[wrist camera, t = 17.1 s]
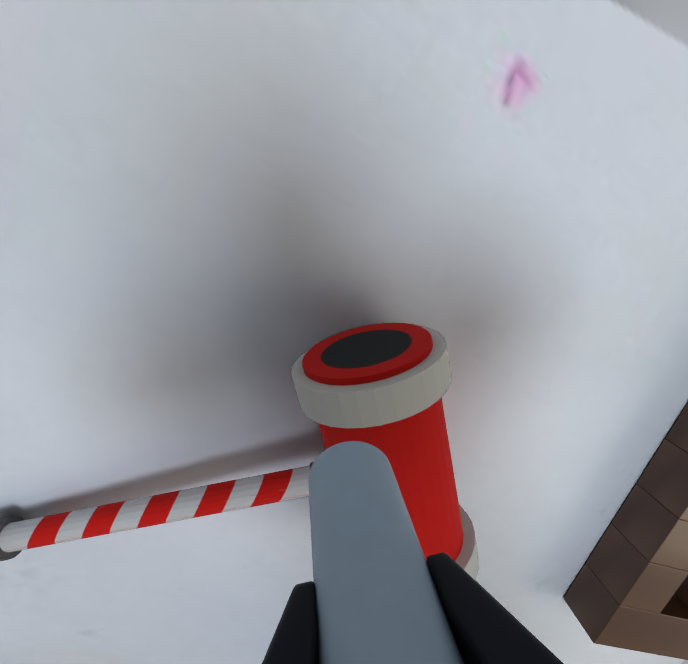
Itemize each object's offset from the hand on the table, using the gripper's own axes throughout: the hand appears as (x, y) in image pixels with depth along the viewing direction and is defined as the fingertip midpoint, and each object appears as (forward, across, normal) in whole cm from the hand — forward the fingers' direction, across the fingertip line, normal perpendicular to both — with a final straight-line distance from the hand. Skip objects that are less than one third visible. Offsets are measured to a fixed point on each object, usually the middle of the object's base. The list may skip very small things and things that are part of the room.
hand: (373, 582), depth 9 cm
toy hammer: (+13, +4, +5) cm, 14 cm away
